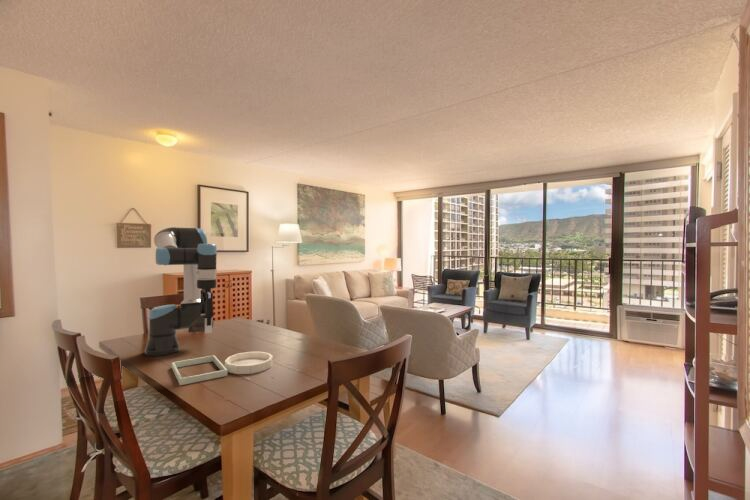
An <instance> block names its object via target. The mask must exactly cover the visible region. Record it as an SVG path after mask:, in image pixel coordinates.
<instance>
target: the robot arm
mask: <svg viewBox="0 0 750 500" xmlns="http://www.w3.org/2000/svg"><path fill="white" fill-rule="evenodd" d="M153 241H154V245H155V246H156V249H155V256H154V257H155V258H154V259H155V264H156V265H158V266H177V265H178V266H180V265H183V300H182V301H181V302H180V306H177V305H176V304H174V303H172V304H165V305H159V306H156V307H154V308H153V307H152V309H150V310H149V317H148V320H149V321H148V322H149V324H148V325H149V326H148V328H149V329H148V333H149V334H148V340H147V343H146V345H145V348H144V355H146V356H149V357H150V356H151V357H160V356H161V357H162V356H166V355H171V354H174V353H177V352H179V351H180V343H179V340H178V337H177V331H179V330H185V329H188V330H189V327H190V325H191V324H192V323H193V322H194V321H195V320H196V319H197V318H198V317H200V316H202V315H205V316H204V318H205V332H204V334H213V328H212V319H213V317H214V302H213V301H214V299H213V298H214V297H213V296H214V293H213V292H212V289H216V287H217V253H218V251H217V245H216V244H215V243H208V238H207V233H206V232H205V230H204V229H203V228H198V227H167V228H164V229H162V230H159V231H158V232H157V233H156V234H155V235H154V238H153Z"/></svg>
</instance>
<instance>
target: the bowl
mask: <svg viewBox="0 0 750 500" xmlns="http://www.w3.org/2000/svg"><path fill="white" fill-rule="evenodd" d="M273 363H274V355H272V354H271V353H269V352H266V351H265V352H264V351H246V352H245V351H244V352H240V353H239V352H238V353H235V354H233V355H230V356H228V357H227V358H226V359H225V360H224V366H225V367H226V369H227V370H228V373H229V374H230V373H231V374H236V375H252V374H256V373H260V372H264V371H266V370H269V369H270V368H272V366H273Z"/></svg>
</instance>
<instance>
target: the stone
mask: <svg viewBox="0 0 750 500" xmlns="http://www.w3.org/2000/svg"><path fill="white" fill-rule="evenodd" d="M204 316H205V315H202V316H200V317H198V318H197V319H196V320H195V321H194V322H193V323H192V324H191V325H190V327H189V328H188V333H200V332H201V333H203V332H204V333H205V318H204ZM213 327H214V320H213V318H212V329H213Z"/></svg>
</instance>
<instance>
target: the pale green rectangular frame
mask: <svg viewBox="0 0 750 500" xmlns="http://www.w3.org/2000/svg"><path fill="white" fill-rule="evenodd" d="M210 362H213V363H214V365H215V366H216V367H217V368H218V369H219V370H215V371H211V372H205V373H202V374H196V375H195V374H194V375H191V376H189V375H188V376H184V377H182V375H181V373H180V371H179V369H178V368H183V367H187V366H188V367H189V366H193V365H199V364H205V363H210ZM171 369H172V372H173V373H174V376H175V378H176V380H177V382H178V384H179V386H183V385H189V384H194V383H198V382H199V383H200V382H203V381H208V380H213V379H217V378H223V377H228V373H229V372H228V370H227V369H226V367H225V364H223V362H221V361H220V360H219V358H217V356H216V355H214V354H213V355H208V356H203V357H202V356H201V357H196V358H190V359H184V360H183V359H182V360H179V361H173V362H171Z"/></svg>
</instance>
